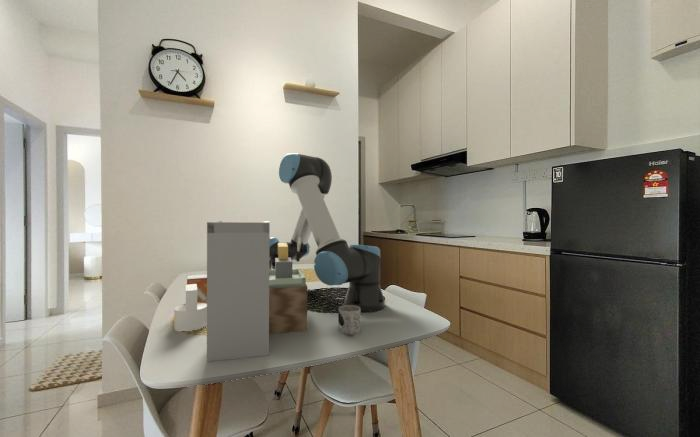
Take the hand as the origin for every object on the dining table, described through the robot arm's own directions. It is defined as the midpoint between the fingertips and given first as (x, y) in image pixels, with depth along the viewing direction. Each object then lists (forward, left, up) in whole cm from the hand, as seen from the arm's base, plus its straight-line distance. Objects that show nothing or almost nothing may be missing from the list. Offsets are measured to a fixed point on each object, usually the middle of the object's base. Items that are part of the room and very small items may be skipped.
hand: (283, 240), depth 104 cm
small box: (+27, -8, -26) cm, 39 cm away
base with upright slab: (+27, +4, -26) cm, 38 cm away
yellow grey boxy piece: (0, +2, -12) cm, 12 cm away
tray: (0, +7, -13) cm, 14 cm away
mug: (-19, +20, -26) cm, 37 cm away
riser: (0, +7, -26) cm, 26 cm away
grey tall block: (+11, +23, -26) cm, 36 cm away
